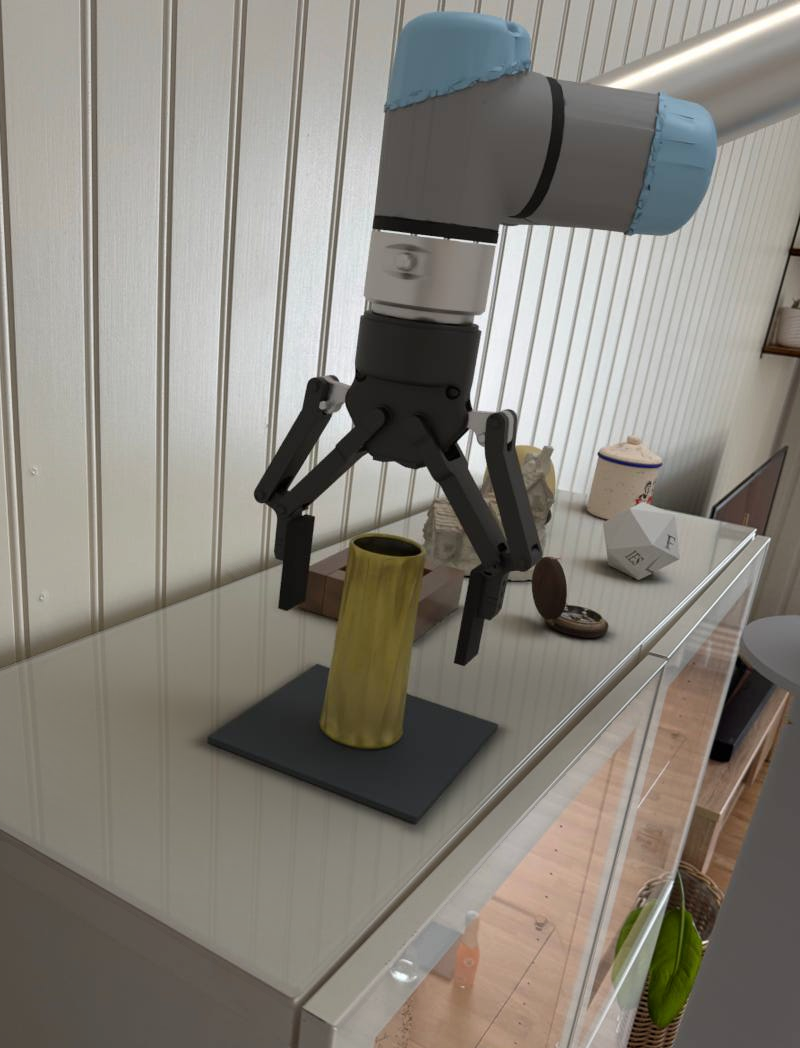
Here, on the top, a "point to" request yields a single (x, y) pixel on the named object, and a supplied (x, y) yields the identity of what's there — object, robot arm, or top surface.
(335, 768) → the mat
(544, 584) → the compass
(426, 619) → the holder
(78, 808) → the top surface
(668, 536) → the die
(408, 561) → the vase
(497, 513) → the ceramic cottage
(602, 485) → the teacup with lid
